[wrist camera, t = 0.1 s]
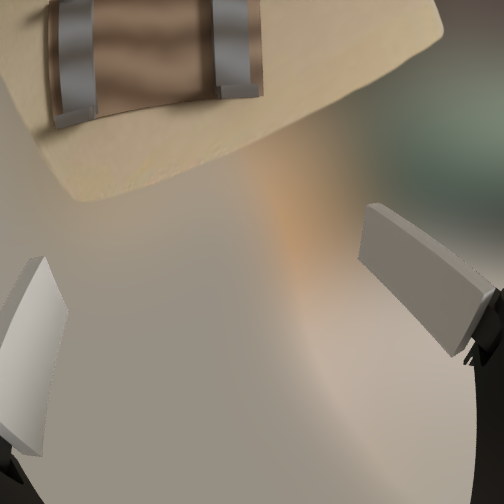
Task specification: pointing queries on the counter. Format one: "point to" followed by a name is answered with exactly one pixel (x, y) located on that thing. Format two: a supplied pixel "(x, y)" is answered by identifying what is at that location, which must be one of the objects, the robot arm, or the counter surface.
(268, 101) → the counter surface
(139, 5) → the mounting board
